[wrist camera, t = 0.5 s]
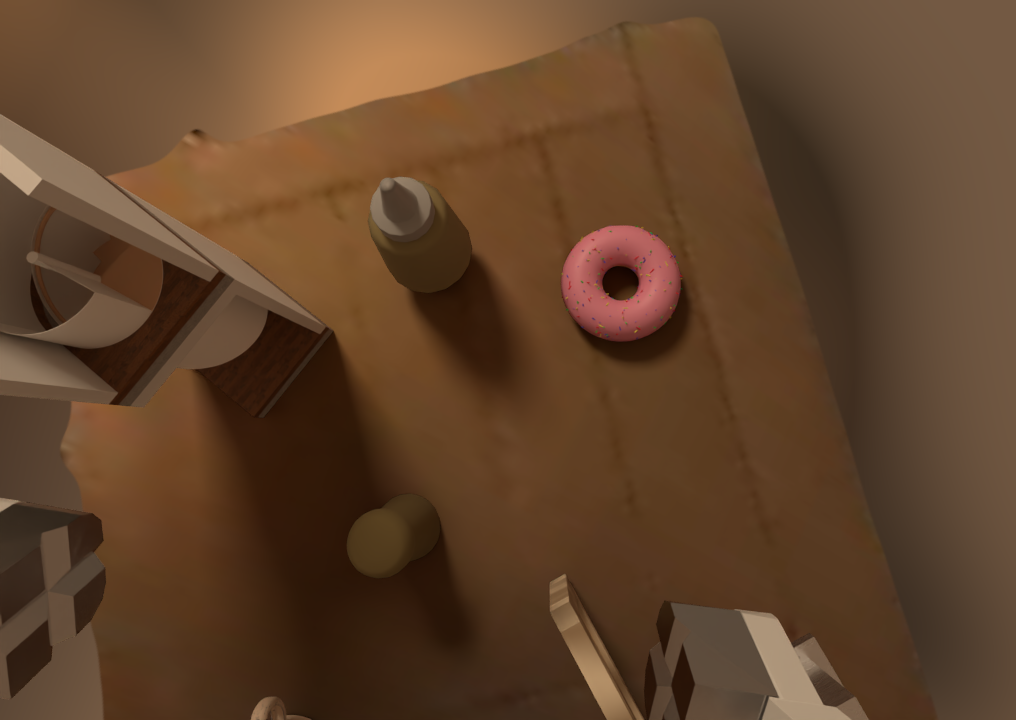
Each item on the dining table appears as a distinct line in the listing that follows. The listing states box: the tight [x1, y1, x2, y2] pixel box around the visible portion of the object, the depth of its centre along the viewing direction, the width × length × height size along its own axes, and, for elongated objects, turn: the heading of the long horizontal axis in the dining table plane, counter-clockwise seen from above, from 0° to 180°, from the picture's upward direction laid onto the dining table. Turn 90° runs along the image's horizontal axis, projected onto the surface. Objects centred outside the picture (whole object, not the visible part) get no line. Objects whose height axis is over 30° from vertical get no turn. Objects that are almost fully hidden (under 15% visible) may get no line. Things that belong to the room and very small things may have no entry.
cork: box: [347, 494, 440, 578], centre depth 52 cm, size 6×6×11 cm
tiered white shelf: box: [0, 114, 333, 418], centre depth 43 cm, size 11×11×35 cm
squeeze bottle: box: [368, 177, 472, 293], centre depth 52 cm, size 8×8×18 cm
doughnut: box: [561, 226, 682, 342], centre depth 57 cm, size 11×11×4 cm
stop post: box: [791, 633, 869, 720], centre depth 49 cm, size 5×5×9 cm
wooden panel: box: [550, 574, 644, 720], centre depth 49 cm, size 20×2×10 cm, turn 29°
